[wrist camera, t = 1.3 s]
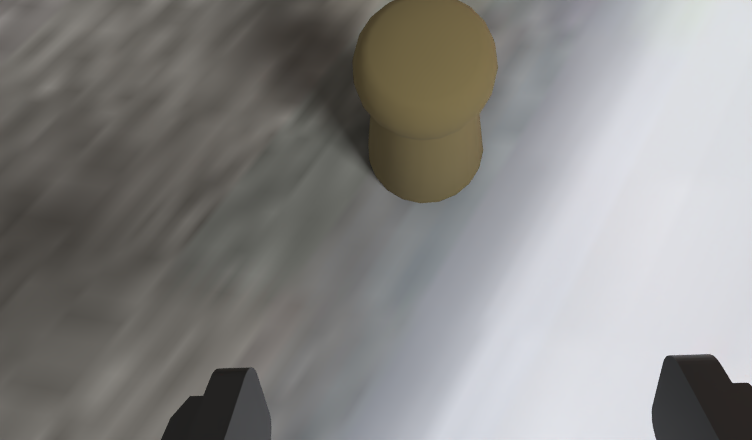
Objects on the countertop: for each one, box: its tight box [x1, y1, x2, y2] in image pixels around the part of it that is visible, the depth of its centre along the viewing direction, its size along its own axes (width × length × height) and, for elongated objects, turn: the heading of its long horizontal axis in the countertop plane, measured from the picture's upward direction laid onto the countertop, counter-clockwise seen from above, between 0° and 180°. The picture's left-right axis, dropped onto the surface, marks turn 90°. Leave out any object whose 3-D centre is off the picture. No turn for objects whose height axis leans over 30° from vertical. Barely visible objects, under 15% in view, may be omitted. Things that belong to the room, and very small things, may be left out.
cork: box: [352, 0, 498, 203], centre depth 24 cm, size 6×6×11 cm
